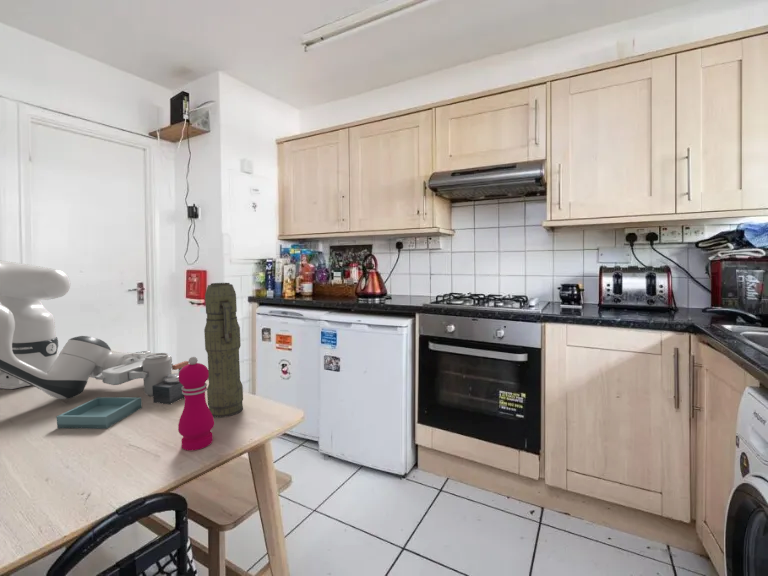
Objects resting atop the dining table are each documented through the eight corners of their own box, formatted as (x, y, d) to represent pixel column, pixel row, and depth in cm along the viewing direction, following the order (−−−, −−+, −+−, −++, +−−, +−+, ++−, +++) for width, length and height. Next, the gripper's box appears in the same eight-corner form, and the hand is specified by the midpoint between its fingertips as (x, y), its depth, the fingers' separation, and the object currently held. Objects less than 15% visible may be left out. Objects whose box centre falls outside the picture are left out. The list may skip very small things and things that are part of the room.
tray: (57, 428, 92) (56, 416, 92) (98, 407, 104) (97, 397, 104) (106, 428, 91) (105, 416, 91) (141, 407, 104) (141, 397, 104)
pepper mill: (191, 455, 79) (186, 363, 77) (172, 446, 82) (167, 358, 81) (221, 441, 85) (217, 355, 83) (203, 433, 88) (198, 351, 87)
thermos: (233, 400, 109) (228, 281, 106) (251, 412, 100) (245, 283, 97) (201, 409, 103) (194, 283, 100) (217, 422, 94) (210, 285, 91)
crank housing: (152, 402, 108) (149, 368, 107) (184, 388, 119) (182, 357, 118) (171, 404, 106) (169, 369, 105) (202, 389, 117) (200, 358, 117)
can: (159, 398, 110) (157, 358, 109) (138, 396, 112) (135, 357, 111) (178, 389, 118) (176, 352, 117) (157, 387, 119) (155, 351, 118)
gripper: (90, 367, 107) (127, 370, 104) (151, 349, 127) (184, 352, 123) (91, 388, 108) (129, 392, 104) (152, 367, 127) (185, 370, 124)
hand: (159, 370), depth 114 cm, fingers closed on can, 7 cm apart
